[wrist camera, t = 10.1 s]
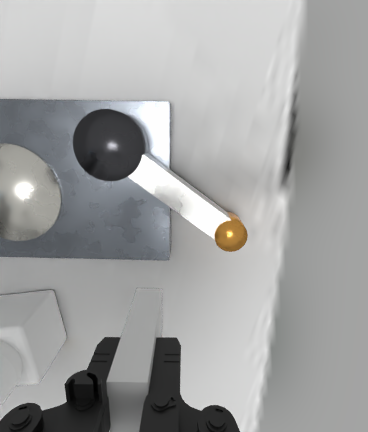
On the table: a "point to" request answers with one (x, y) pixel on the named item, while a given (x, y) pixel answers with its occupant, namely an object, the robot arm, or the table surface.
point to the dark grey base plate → (76, 186)
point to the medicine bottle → (28, 338)
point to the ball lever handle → (149, 173)
